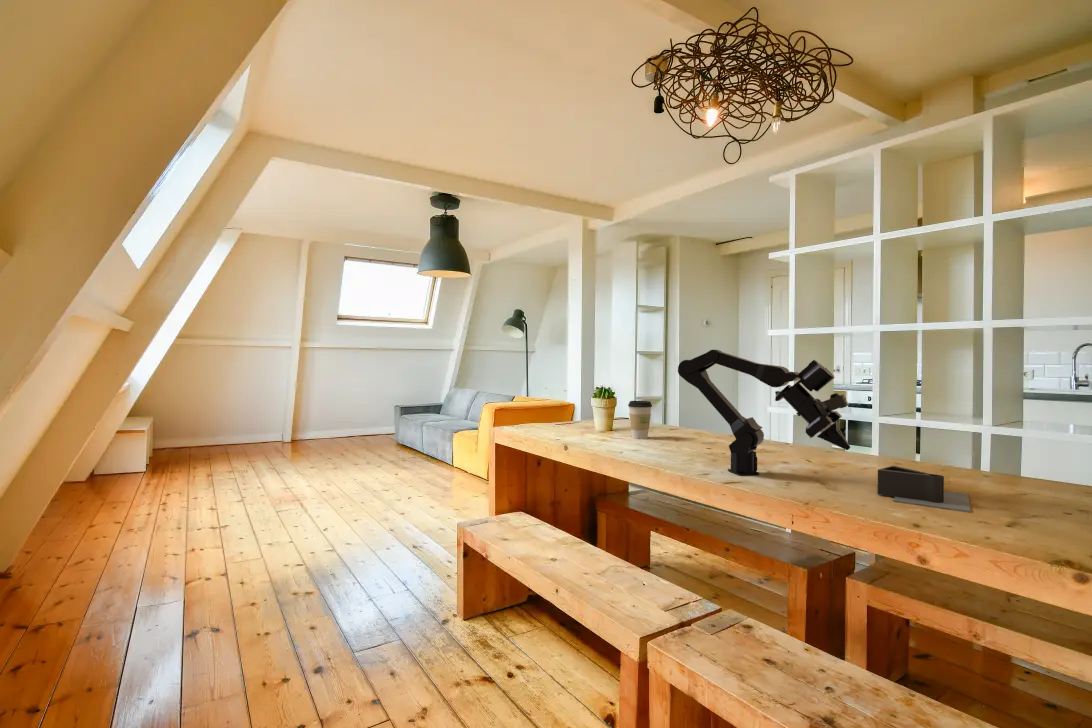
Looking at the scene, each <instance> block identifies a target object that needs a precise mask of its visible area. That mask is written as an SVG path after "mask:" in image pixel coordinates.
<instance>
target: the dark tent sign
mask: <svg viewBox="0 0 1092 728" xmlns="http://www.w3.org/2000/svg"><path fill="white" fill-rule="evenodd" d="M944 486H945V477H944V475H940V474H935V473H928V472H925V471H919V470H916V469H912V468H907V467H903V466H897V465H891V466H890V465H889V466H886V467H882V468H880V469H877V489H876V491H877V495H878V496H886V497H887V496H888V497H901V498H909V499H916V500H924V501H930V502H934V503H942V502H944V491H945V487H944Z"/></svg>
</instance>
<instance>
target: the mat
mask: <svg viewBox="0 0 1092 728" xmlns="http://www.w3.org/2000/svg"><path fill="white" fill-rule="evenodd" d="M893 502H895V503H902V504H908V503H909V505H915V506H917V505H918V506H923V507H930V508H938V509H944V510H950V511H958V512H965V513H966V512H967V513H971V506H970V500H969V494H968V493H963V492H956V491H947V490H944V502H942V503H934V502H930V501H924V500H916V499H909V498H901V497H894V498H893Z"/></svg>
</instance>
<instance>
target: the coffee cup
mask: <svg viewBox="0 0 1092 728" xmlns="http://www.w3.org/2000/svg"><path fill="white" fill-rule="evenodd" d="M627 406H628V410H629V422H630V424H629V425H630V430H631V437H632V439H634V438H635V439H634V440H646V439H648V437H649V429H650V423H651V415H652V414H651V413H652V412H651V410H652V407H653V405H652V403H651V401H650V400H630V401H629V402H628V404H627Z"/></svg>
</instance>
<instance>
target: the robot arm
mask: <svg viewBox="0 0 1092 728" xmlns="http://www.w3.org/2000/svg"><path fill="white" fill-rule="evenodd" d="M715 365H719V366H723V367H724V368H725V367H726V368H728V369H732V370H734V371H736V372H737V371H738V372H740V373H743V374H746V375H748V376H752V377H754V378H755V379H757V380H758V381H760V382H761V383H764V384H765V385H767V386H769V387H771V388H781V387H784V388H783V389H781V390H776V391H775V392H774V393H775V398H774V401H775V402H779V401H781V400H783V399H784V400H785V401H786V402H787V404H789V405H790V406H791V408H793V409H794V410H795V412H796V413H795V414H796V415H797V416H798V417H802V419H803V420H804V422H806V423H807V426H806V427H805V434H806V435H807V436H808V437H809V438H810V439H812V438H814V437H815V436H816V435H817V434H818V433H819V434H818V435H817V436H816V437H817V438H818V439H821V440H824V441H826V442H829V443H830V444H833V445H835V446H837V447H839V448H841V449H843V450H845V451H848V450H850V449H851V445H850V444H849V442H848V440H847V439H846V438H845V436H844V434H843V431H842V430H841V429H840V424H841V423H840V422H841V418H842V417H843V416H842V415H841V413H839V411H837V410H838V409H844V408H846V407H848V406H850V405H849V403H848V400H847V397H846V396H845V395H844V394H839V393H838V392H836V393H831V394H830V397H829V399H827V400H824V401H822V400H820V398H815V397H814V396H813V395H812V394H811V393H810V392H813V391H815V392H817V393H818V392H819V391H820V390H821V389H823V388H824V387H825V386H827V385H828V384H829V383H830V382H831V381H832V380H834V379H835V375H834V374H833V373H832V372H831V371H830V370H829V369H828V368H827V367H824V366H823V365H822V364H821V363H819V362H818V361H817V360H816V359H813V360H811V361H810V362H809V363H808V365H807V366H806V367H804V369H802V370H801V371H800V372H798V371H790V370H789V369H788V368H787V367H785V366H782V365H775V364H766V363H759V362H755V361H752V360H749V359H746V358H743V357H740V356H737V355H734V354H730V353H726V352H724V351H722V350H719V349H710V350H709V351H706V352H705V353H703V354H701V355H698V356H696V357H693V358H691V359H683V360H682V361H680V362H679V364H678V366H677V373H678V375H679V376H680V378H682V379H683V380H684V381H685V382H687V383H689V384H690V385H691V386H693V387H695V388H697V389H698V390H699V392H700V393H701V394H702V396H704V398H706V400H707V401H708V402H709V403H710V404H711V405H712V407H713V408H714V409H715V410H716V411H717V412H718V413H719V414H720V416H721V417H722V418H723V420H724V421H726V423H727V424H728V425H729V427H730V430H731V433H732V435H733V437H734V438H735V439H734V440H733V441H732V442H731V443H730V444H728V448H729V452H730V468H727V471H728V472H731V473H733V474H736V475H739V476H753V475H760V472H759V471H758V457H757V452H756V450H757V448H758V446H759V445H761V444H762V443H763V441H764V439H765V434H764V432H763V430H762V429H763V427H762V426H761V425H760V424H758V422H756V420H755V418H754V417H748V418H746V417H745V416H743V415H742V414H741V413H740V412H739V411H738V409H737V408H736V407H735V406H734V405H733V404H732V403H731V402H730V401H729V400H728V399H727V398H726V396H725V395H724V394H723V393H722V392H721V391H720V389H718V387H717V386H716V385H715V384H714V383H713V382H712V380H711V378H710V377H709V374H708V371H707V370H709V369H710V368H711V367H713V366H715ZM790 382H795V383H794V384H793V385H790V384H789V383H790Z"/></svg>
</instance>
